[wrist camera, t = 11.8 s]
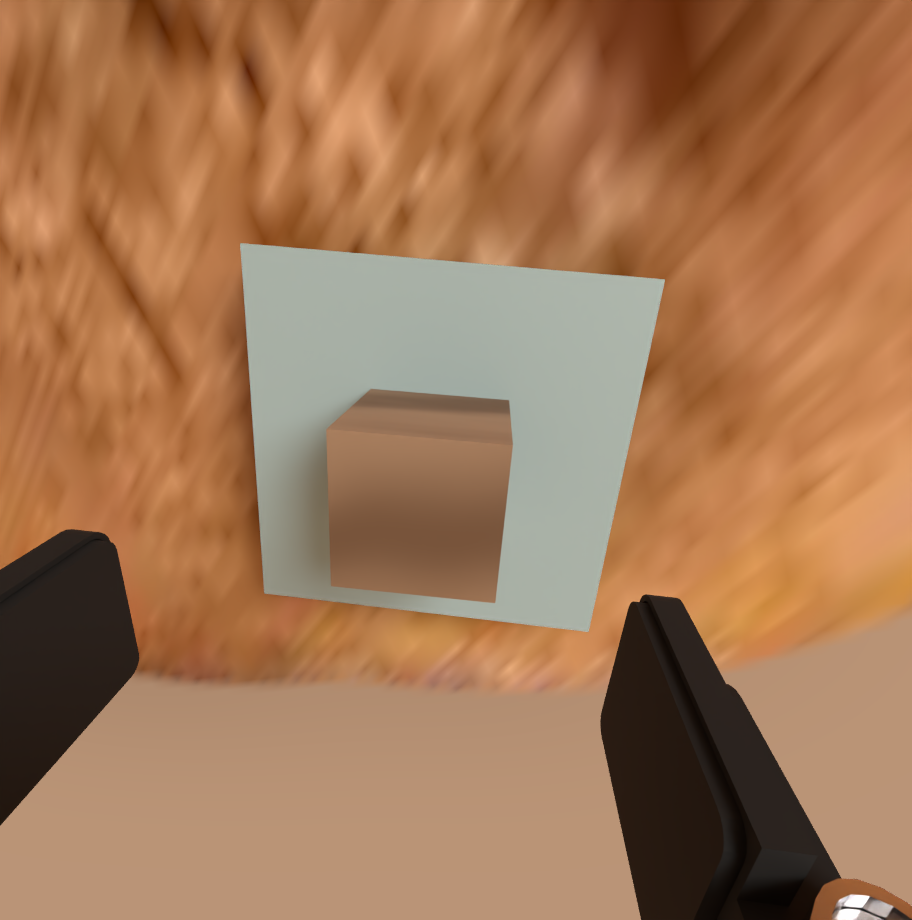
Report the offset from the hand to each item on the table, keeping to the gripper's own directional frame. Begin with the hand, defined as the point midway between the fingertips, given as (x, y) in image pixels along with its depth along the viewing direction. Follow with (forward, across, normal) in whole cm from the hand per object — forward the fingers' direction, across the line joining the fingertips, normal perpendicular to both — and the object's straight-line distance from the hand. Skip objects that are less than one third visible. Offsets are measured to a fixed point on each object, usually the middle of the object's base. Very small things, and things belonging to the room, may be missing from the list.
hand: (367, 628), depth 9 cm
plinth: (+13, 0, +1) cm, 13 cm away
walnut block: (+10, 0, +1) cm, 10 cm away
